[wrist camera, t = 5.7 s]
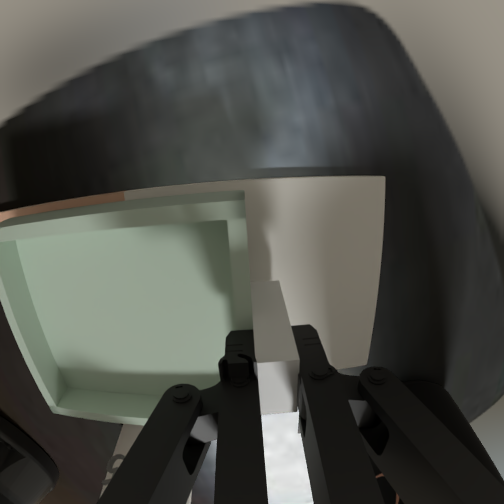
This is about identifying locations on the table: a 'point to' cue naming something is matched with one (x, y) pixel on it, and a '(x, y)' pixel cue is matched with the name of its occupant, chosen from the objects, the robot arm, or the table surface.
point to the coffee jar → (454, 422)
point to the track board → (300, 248)
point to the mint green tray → (126, 298)
